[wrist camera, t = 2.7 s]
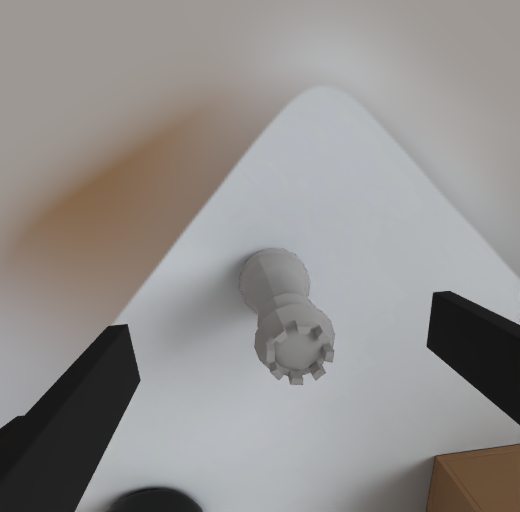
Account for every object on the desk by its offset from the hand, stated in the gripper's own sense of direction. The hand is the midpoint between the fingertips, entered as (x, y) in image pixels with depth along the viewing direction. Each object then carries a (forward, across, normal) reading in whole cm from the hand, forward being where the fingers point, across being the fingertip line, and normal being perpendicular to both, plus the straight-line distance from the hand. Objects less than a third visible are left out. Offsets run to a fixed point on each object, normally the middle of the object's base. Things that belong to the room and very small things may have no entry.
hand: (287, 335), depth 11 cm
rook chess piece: (+7, 0, 0) cm, 7 cm away
